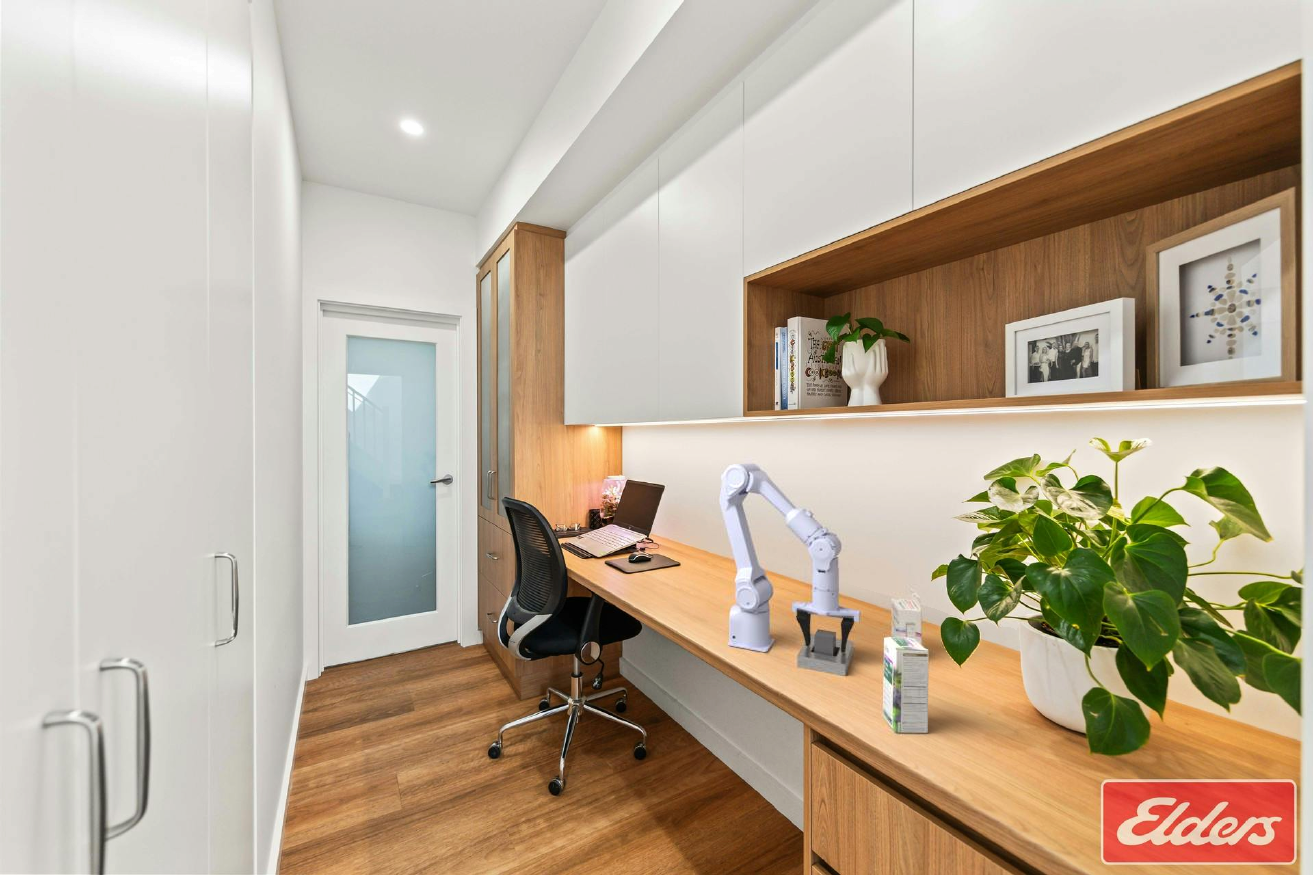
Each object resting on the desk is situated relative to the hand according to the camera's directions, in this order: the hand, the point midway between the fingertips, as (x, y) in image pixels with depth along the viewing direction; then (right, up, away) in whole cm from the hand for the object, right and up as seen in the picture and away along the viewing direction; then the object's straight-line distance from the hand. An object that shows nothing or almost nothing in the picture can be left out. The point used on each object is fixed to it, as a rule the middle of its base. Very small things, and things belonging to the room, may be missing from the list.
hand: (825, 647), depth 120 cm
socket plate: (0, -3, +1) cm, 3 cm away
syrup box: (+6, -3, -26) cm, 27 cm away
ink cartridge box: (+20, -3, +3) cm, 20 cm away
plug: (0, -3, 0) cm, 3 cm away
